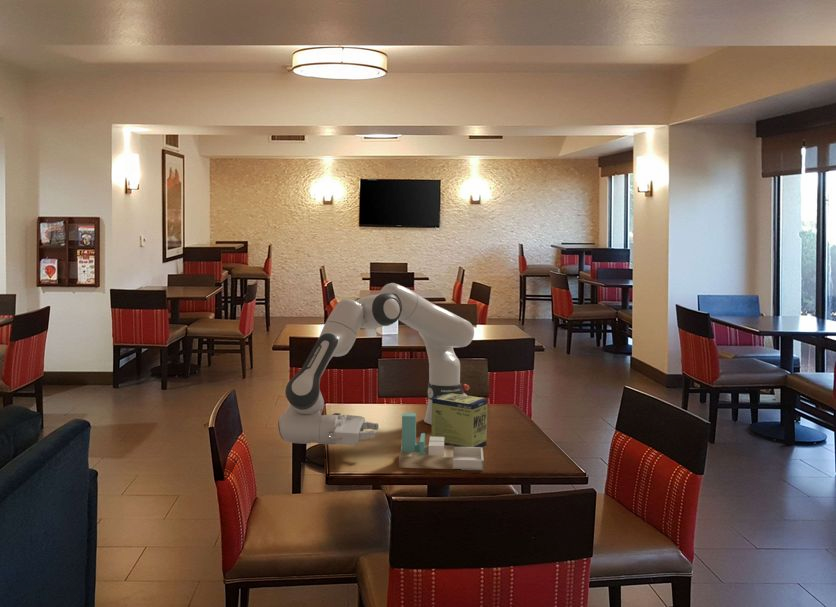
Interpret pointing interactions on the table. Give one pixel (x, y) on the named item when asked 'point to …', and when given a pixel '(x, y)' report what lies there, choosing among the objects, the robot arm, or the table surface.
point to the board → (427, 459)
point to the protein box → (460, 420)
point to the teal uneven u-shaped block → (411, 435)
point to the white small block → (436, 448)
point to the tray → (468, 458)
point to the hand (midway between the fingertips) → (376, 430)
